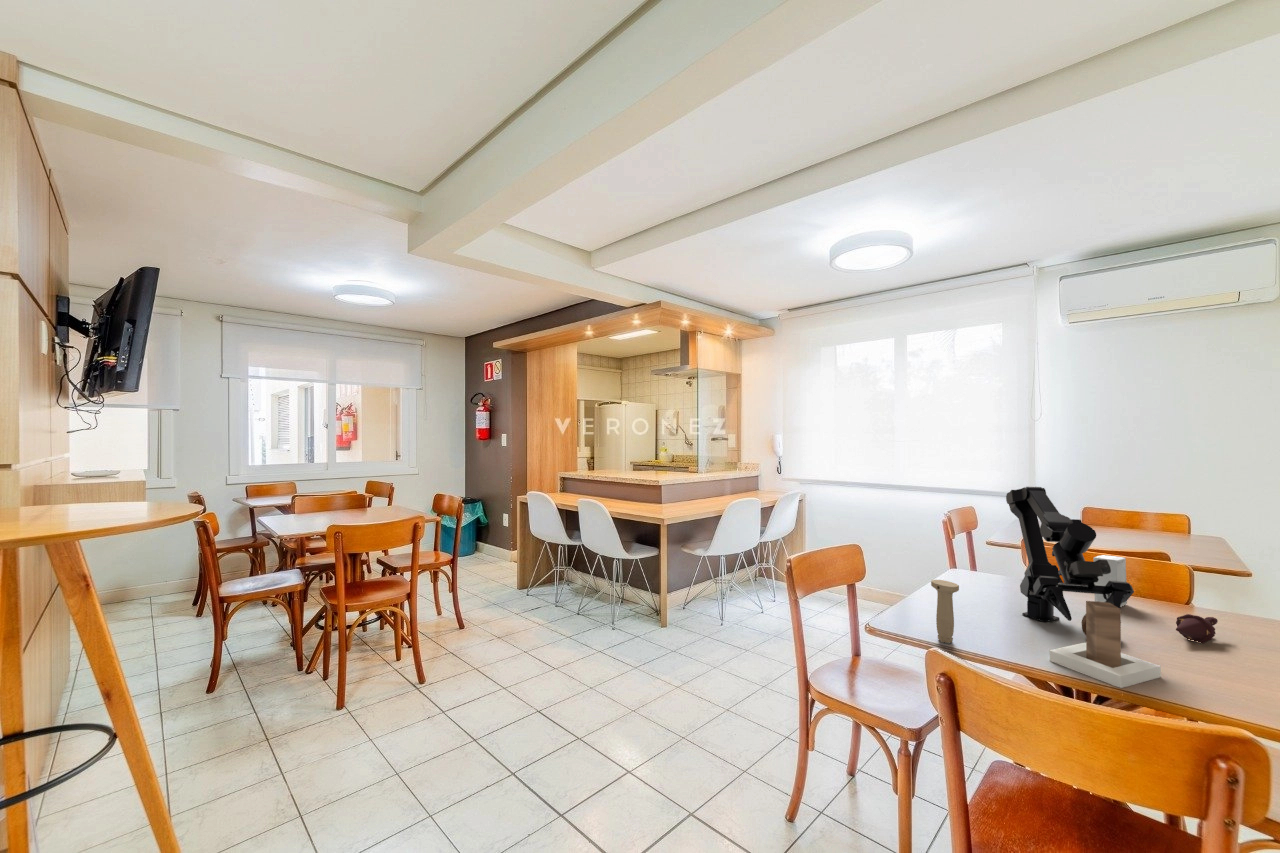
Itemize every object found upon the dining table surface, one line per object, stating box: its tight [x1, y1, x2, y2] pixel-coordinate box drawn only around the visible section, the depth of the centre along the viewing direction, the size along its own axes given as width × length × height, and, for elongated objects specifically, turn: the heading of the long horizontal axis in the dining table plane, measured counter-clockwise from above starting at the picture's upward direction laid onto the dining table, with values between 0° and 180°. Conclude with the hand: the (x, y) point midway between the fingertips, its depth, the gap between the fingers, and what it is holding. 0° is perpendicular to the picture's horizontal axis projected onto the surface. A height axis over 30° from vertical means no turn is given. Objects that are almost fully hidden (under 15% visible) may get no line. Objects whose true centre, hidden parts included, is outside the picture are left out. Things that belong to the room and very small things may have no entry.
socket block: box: [1049, 641, 1162, 689], centre depth 120 cm, size 14×14×2 cm
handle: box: [930, 579, 960, 644], centre depth 136 cm, size 5×6×15 cm
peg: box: [1085, 600, 1122, 668], centre depth 120 cm, size 4×4×14 cm
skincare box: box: [1093, 554, 1128, 608], centre depth 164 cm, size 8×6×15 cm
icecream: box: [1175, 613, 1219, 644], centre depth 136 cm, size 7×7×15 cm
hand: (1093, 622), depth 124 cm, fingers open, 9 cm apart
